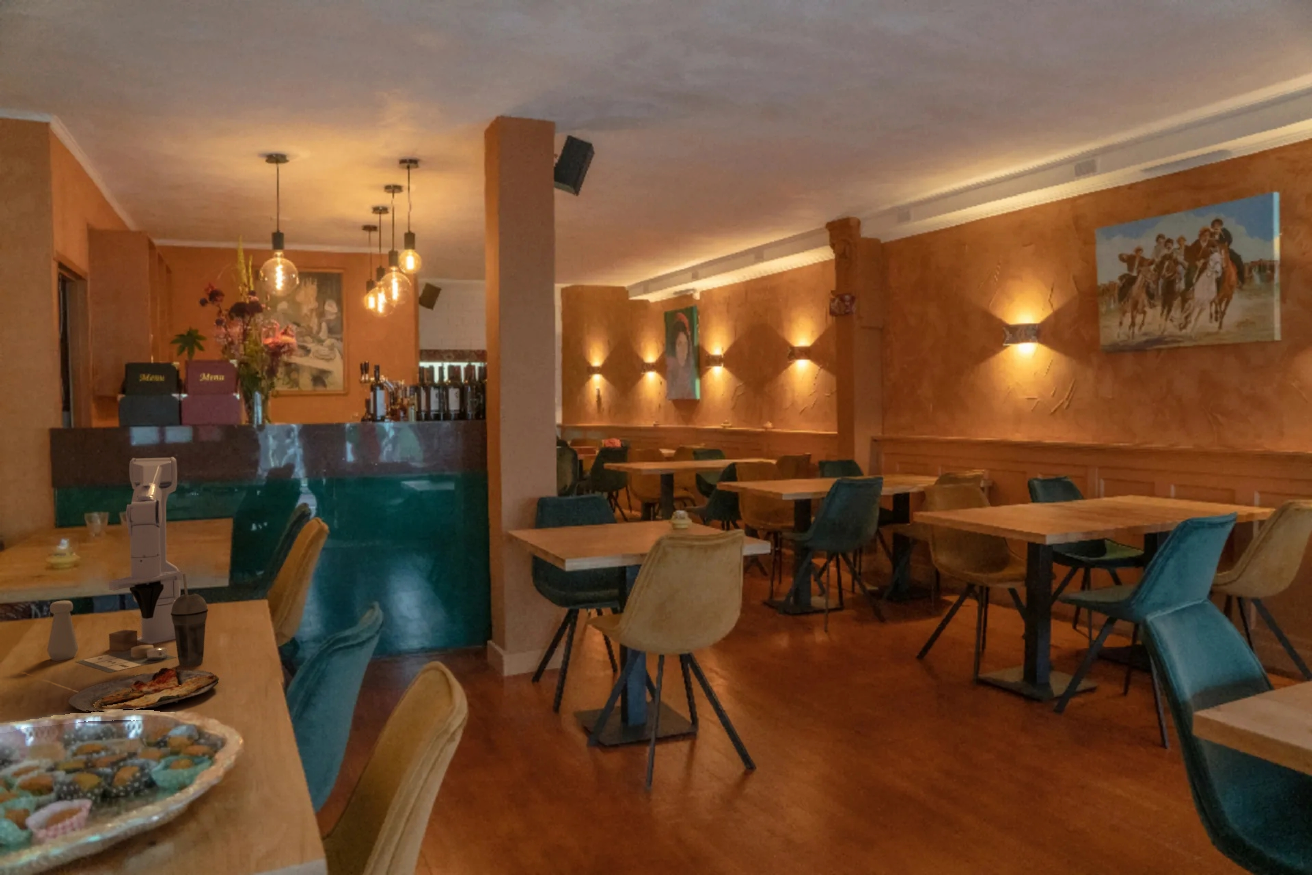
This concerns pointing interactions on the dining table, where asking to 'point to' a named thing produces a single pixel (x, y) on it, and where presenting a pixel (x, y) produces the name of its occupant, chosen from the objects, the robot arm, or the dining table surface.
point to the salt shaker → (62, 632)
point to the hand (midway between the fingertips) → (147, 617)
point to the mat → (117, 661)
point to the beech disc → (140, 651)
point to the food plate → (146, 689)
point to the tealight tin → (157, 654)
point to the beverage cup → (189, 627)
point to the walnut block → (123, 640)
